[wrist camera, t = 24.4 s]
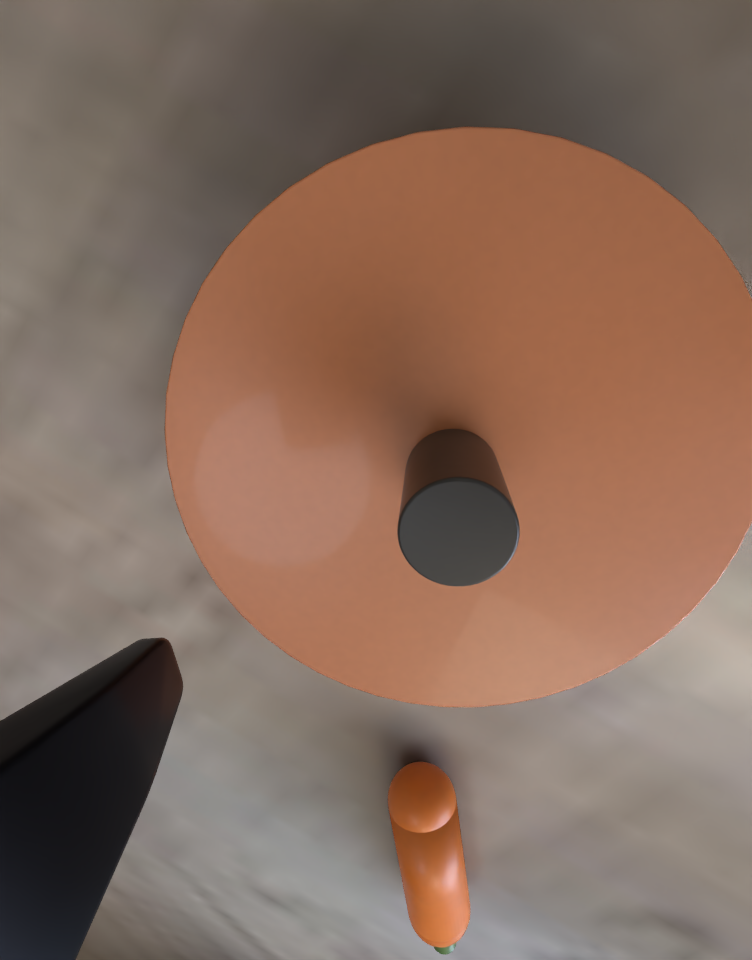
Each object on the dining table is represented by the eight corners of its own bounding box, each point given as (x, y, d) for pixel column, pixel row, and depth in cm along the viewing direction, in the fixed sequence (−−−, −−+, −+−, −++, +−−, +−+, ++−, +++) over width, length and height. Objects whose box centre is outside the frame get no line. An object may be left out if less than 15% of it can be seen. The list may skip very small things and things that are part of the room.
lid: (785, 73, 12) (1010, -59, 7) (729, 673, 18) (837, 816, 13) (110, 200, 15) (-46, 161, 10) (247, 695, 20) (189, 822, 15)
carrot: (404, 737, 25) (370, 789, 23) (464, 760, 23) (433, 818, 21) (431, 897, 29) (403, 956, 26) (483, 926, 27) (459, 991, 25)
